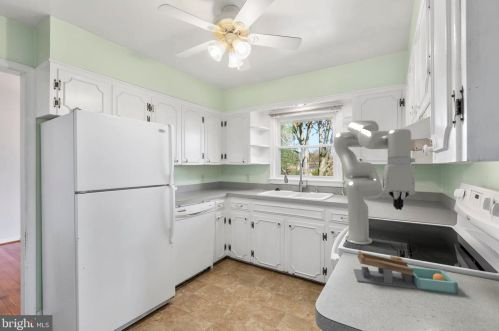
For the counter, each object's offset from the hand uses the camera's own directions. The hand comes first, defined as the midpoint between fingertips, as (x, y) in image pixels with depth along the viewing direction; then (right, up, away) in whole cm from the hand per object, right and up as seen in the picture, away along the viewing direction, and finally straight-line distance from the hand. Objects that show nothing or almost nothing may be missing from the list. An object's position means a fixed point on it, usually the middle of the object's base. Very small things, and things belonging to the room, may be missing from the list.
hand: (398, 208), depth 90 cm
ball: (+4, -20, -15) cm, 25 cm away
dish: (+2, -22, -14) cm, 26 cm away
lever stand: (-11, -22, -10) cm, 27 cm away
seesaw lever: (-10, -19, -7) cm, 22 cm away
